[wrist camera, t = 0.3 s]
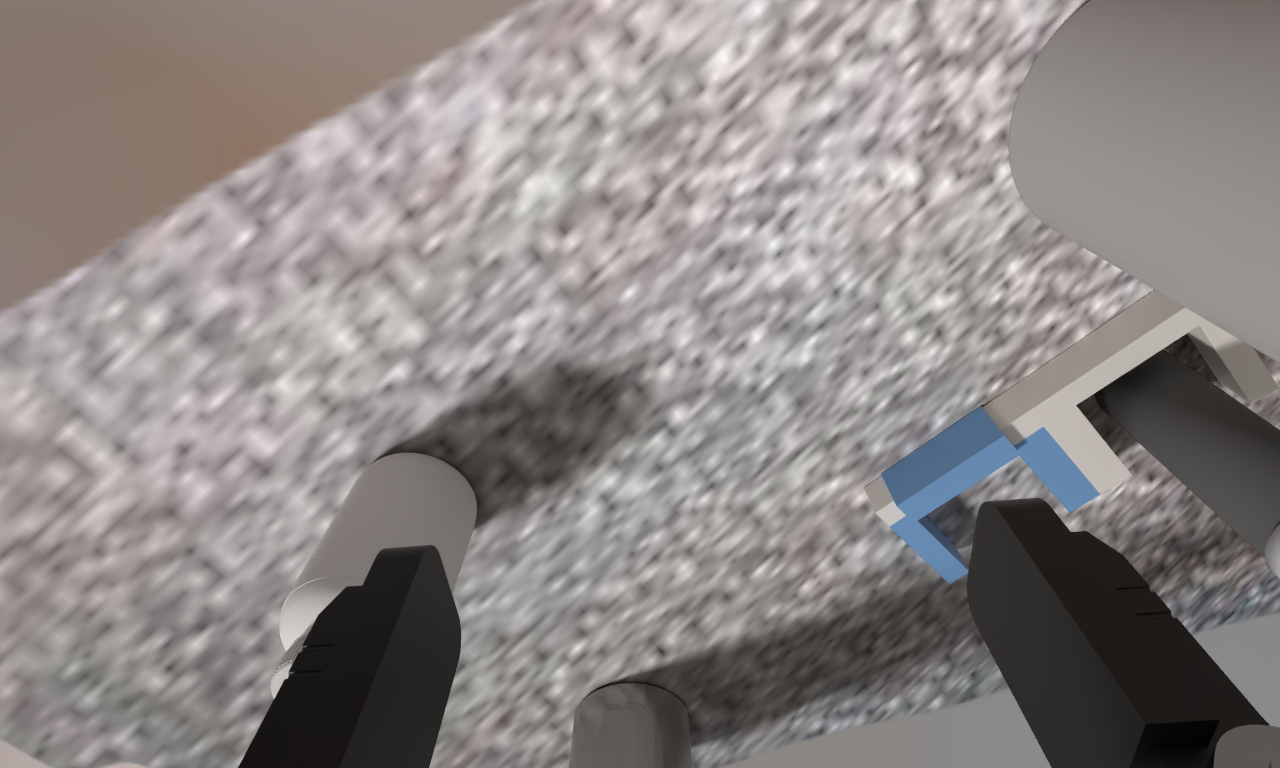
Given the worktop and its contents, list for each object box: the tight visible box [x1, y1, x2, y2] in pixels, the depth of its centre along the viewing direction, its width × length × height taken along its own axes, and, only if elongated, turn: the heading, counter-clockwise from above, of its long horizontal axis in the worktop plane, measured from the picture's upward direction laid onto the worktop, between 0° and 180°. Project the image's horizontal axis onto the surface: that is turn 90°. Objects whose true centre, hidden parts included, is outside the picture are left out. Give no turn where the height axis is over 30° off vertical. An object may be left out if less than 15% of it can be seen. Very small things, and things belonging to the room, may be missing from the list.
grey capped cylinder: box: [1095, 350, 1280, 579], centre depth 35 cm, size 5×5×15 cm
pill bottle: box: [271, 453, 477, 699], centre depth 40 cm, size 8×8×15 cm
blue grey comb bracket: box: [865, 290, 1279, 584], centre depth 42 cm, size 8×21×3 cm, turn 135°
